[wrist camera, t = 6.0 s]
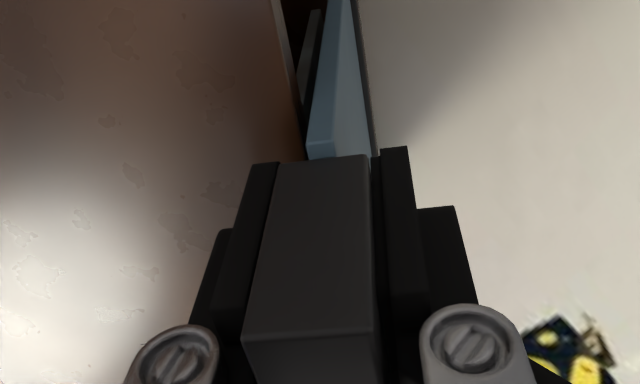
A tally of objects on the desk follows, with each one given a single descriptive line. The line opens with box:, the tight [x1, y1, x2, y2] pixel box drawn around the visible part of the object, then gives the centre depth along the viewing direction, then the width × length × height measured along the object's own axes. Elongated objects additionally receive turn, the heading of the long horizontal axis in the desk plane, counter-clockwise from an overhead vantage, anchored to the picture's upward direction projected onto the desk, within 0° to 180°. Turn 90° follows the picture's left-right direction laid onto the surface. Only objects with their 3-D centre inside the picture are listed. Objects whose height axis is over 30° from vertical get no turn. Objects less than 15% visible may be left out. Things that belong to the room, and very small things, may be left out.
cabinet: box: [0, 0, 378, 384], centre depth 17 cm, size 12×18×12 cm
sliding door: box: [240, 0, 391, 384], centre depth 15 cm, size 2×9×16 cm, turn 10°
